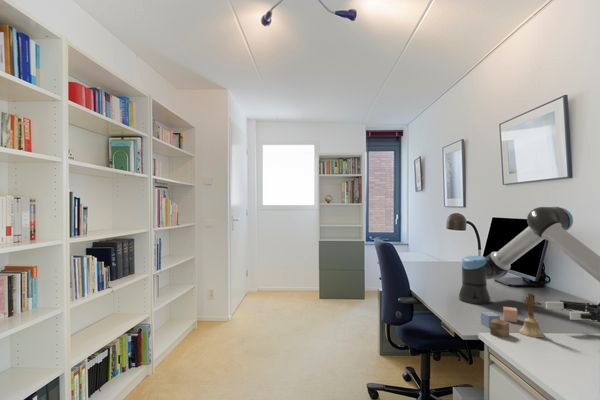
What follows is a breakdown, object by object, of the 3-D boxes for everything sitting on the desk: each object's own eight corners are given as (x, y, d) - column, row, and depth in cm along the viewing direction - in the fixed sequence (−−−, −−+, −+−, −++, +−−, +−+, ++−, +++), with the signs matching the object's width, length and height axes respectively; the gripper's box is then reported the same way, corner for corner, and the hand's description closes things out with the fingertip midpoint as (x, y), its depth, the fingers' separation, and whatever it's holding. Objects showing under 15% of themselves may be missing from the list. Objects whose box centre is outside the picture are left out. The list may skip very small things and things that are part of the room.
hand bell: (537, 339, 125) (536, 296, 125) (514, 332, 132) (513, 292, 133) (549, 335, 129) (548, 294, 129) (526, 328, 136) (525, 289, 137)
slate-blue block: (481, 324, 142) (480, 312, 142) (491, 323, 142) (491, 311, 143) (488, 328, 137) (488, 316, 137) (500, 327, 138) (499, 315, 138)
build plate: (541, 306, 169) (541, 297, 169) (524, 305, 172) (524, 296, 172) (535, 300, 180) (534, 292, 180) (519, 299, 183) (519, 290, 183)
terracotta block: (503, 320, 146) (503, 309, 146) (503, 317, 151) (503, 306, 151) (517, 322, 144) (517, 311, 144) (516, 319, 148) (516, 308, 148)
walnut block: (490, 334, 130) (490, 321, 130) (495, 331, 133) (495, 318, 134) (504, 338, 126) (504, 324, 127) (509, 334, 130) (508, 322, 130)
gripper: (647, 332, 116) (582, 331, 117) (590, 311, 141) (537, 310, 142) (646, 311, 116) (581, 309, 118) (589, 293, 141) (537, 292, 142)
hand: (557, 310), depth 130 cm, fingers open, 13 cm apart
